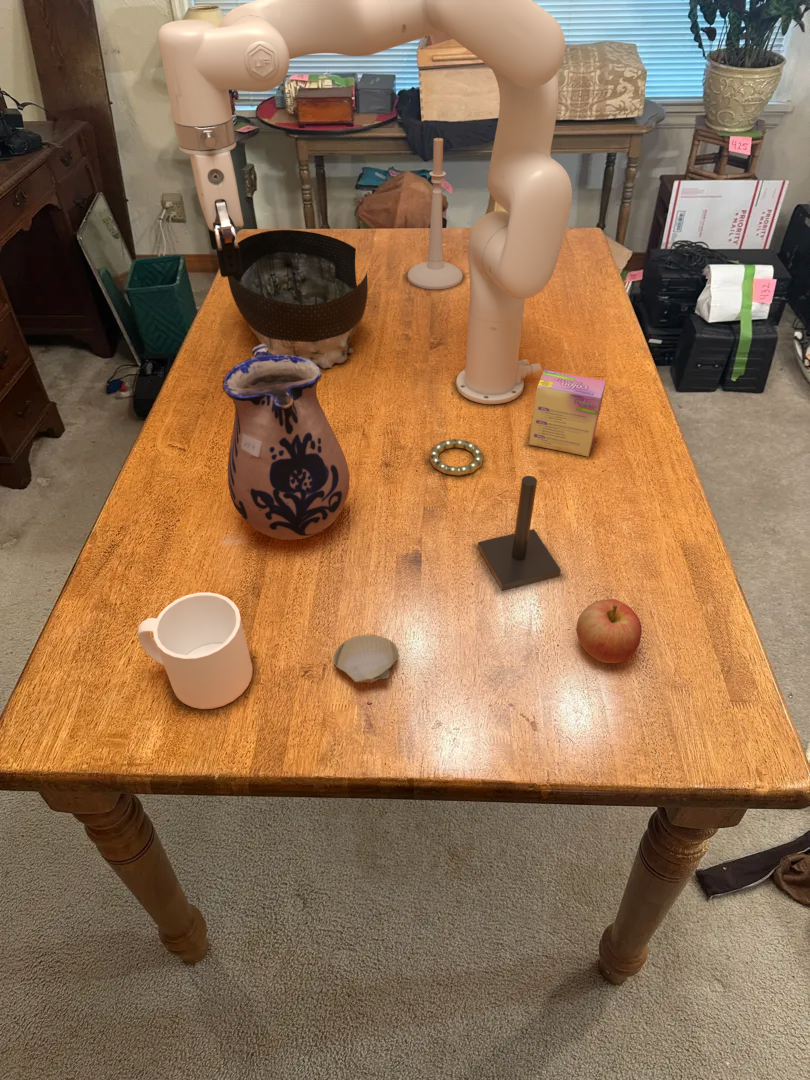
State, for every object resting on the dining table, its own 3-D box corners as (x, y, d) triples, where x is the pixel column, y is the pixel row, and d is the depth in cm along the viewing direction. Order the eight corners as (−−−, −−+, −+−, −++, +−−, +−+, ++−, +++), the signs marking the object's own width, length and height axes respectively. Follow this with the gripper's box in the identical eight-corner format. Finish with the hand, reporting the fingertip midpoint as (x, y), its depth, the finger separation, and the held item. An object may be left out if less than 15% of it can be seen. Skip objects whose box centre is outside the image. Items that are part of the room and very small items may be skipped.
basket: (377, 295, 170) (375, 222, 159) (363, 380, 145) (359, 300, 134) (252, 292, 171) (241, 220, 160) (217, 376, 146) (200, 297, 135)
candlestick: (463, 289, 172) (471, 146, 151) (407, 289, 172) (407, 146, 151) (461, 265, 181) (468, 127, 160) (407, 264, 181) (407, 127, 161)
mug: (260, 647, 99) (249, 594, 92) (242, 713, 92) (228, 661, 85) (166, 641, 100) (147, 588, 93) (141, 706, 93) (118, 654, 85)
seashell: (390, 649, 101) (330, 644, 99) (395, 631, 99) (334, 626, 97) (397, 694, 94) (333, 689, 92) (402, 676, 92) (338, 671, 91)
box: (594, 438, 131) (606, 379, 123) (589, 457, 127) (601, 397, 119) (535, 427, 134) (543, 368, 126) (528, 445, 130) (536, 386, 122)
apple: (580, 617, 102) (590, 577, 97) (639, 635, 100) (653, 594, 95) (565, 662, 97) (575, 621, 92) (628, 681, 95) (642, 641, 89)
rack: (532, 534, 114) (545, 453, 104) (559, 575, 108) (576, 494, 97) (477, 547, 112) (484, 466, 102) (501, 590, 106) (511, 509, 95)
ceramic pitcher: (260, 574, 108) (231, 430, 91) (215, 489, 122) (183, 350, 104) (371, 535, 114) (364, 393, 97) (316, 458, 128) (302, 321, 110)
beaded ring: (470, 440, 131) (471, 433, 130) (490, 470, 125) (491, 464, 124) (422, 450, 129) (422, 443, 128) (440, 481, 123) (440, 474, 122)
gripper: (245, 151, 95) (263, 282, 107) (224, 113, 107) (243, 235, 119) (183, 158, 93) (209, 290, 105) (170, 118, 105) (194, 241, 117)
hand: (227, 261), depth 112 cm, fingers open, 9 cm apart
